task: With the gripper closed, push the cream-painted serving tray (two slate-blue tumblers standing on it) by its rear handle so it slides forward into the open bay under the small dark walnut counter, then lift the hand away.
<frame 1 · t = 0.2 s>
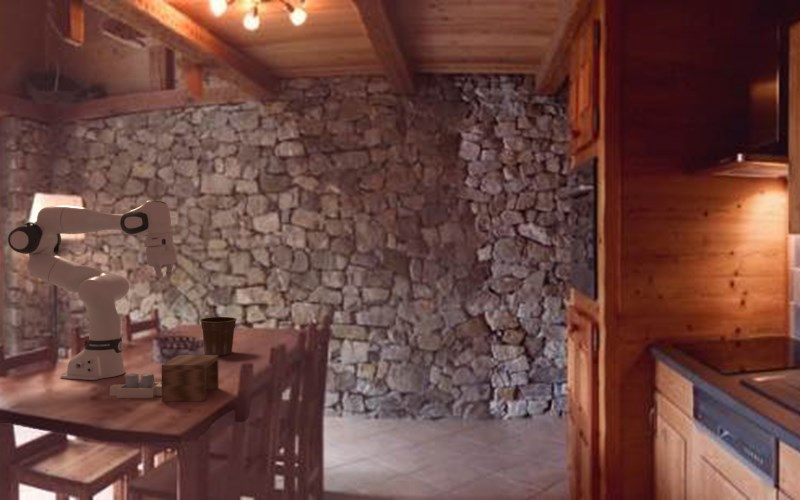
hand: (164, 276, 223), 39 cm above the table, tool pointing down, fingers open, 8 cm apart
counter: (191, 394, 196), on the table
tray: (139, 394, 195), on the table
plant pot: (218, 354, 263), on the table
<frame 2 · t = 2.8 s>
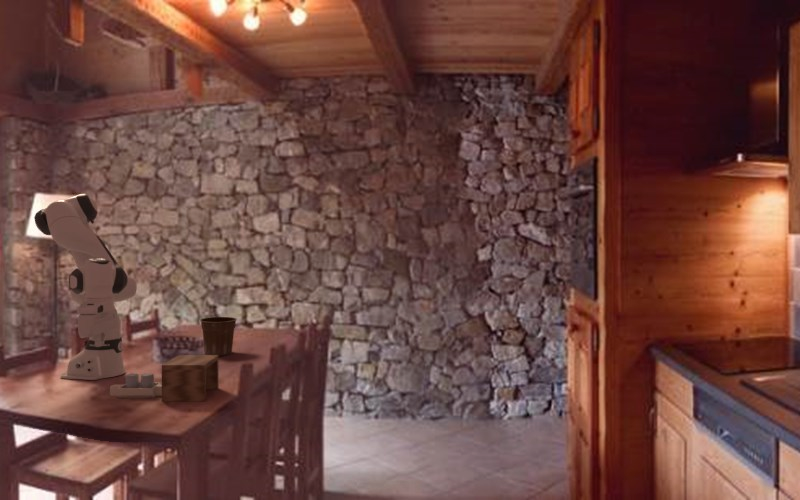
hand: (99, 346, 194), 17 cm above the table, tool pointing down, fingers closed
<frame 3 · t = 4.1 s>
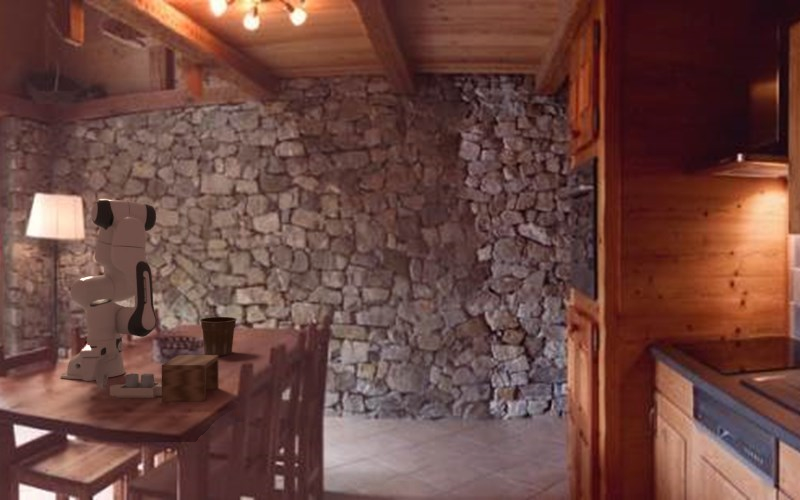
hand: (102, 387, 195), 3 cm above the table, tool pointing down, fingers closed
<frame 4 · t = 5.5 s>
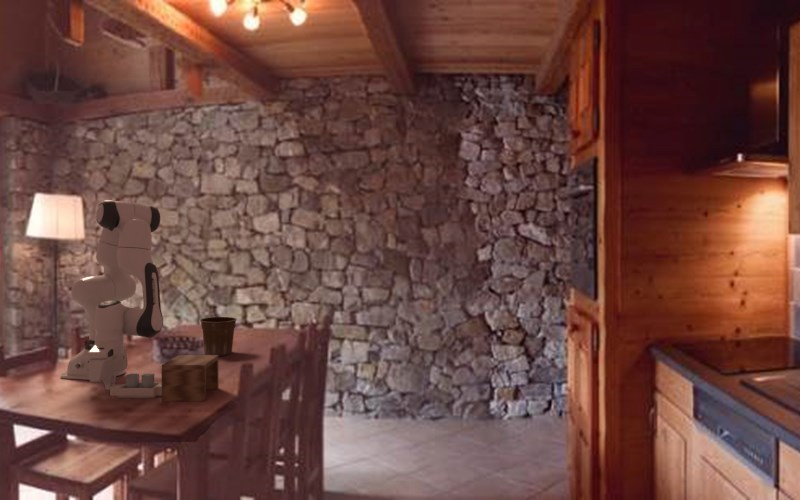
hand: (109, 388, 195), 2 cm above the table, tool pointing down, fingers closed, pressing on tray
tray: (140, 394, 195), on the table, touching gripper
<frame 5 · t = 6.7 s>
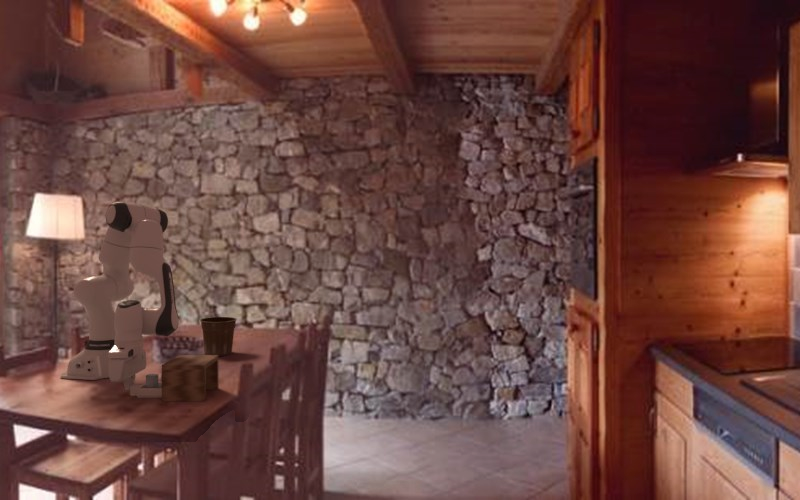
hand: (129, 388, 195), 2 cm above the table, tool pointing down, fingers closed, pressing on tray
tray: (159, 394, 195), on the table, touching gripper
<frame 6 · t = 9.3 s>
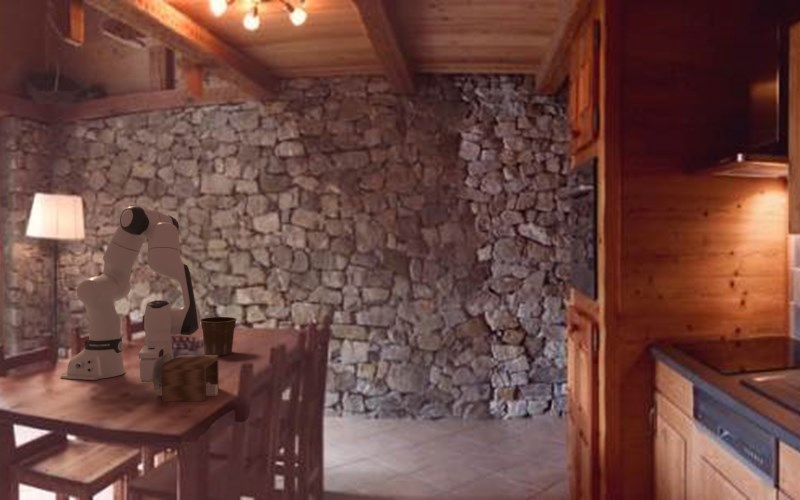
hand: (158, 388, 195), 2 cm above the table, tool pointing down, fingers closed, pressing on tray
tray: (188, 394, 196), on the table, touching gripper
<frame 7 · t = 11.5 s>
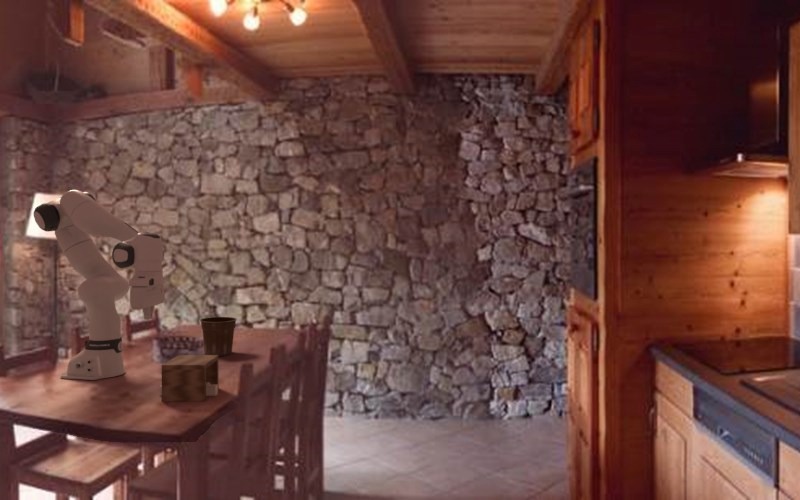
hand: (148, 319, 197), 26 cm above the table, tool pointing down, fingers closed
tray: (188, 394, 196), on the table
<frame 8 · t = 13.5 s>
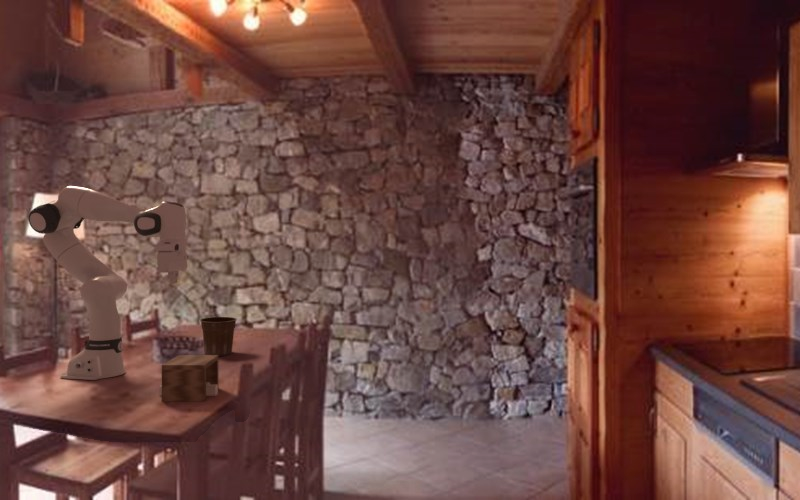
hand: (173, 283, 209), 37 cm above the table, tool pointing down, fingers closed
at the end: tray 0.8 cm from the target spot, on the table; tray tilted 0° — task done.
